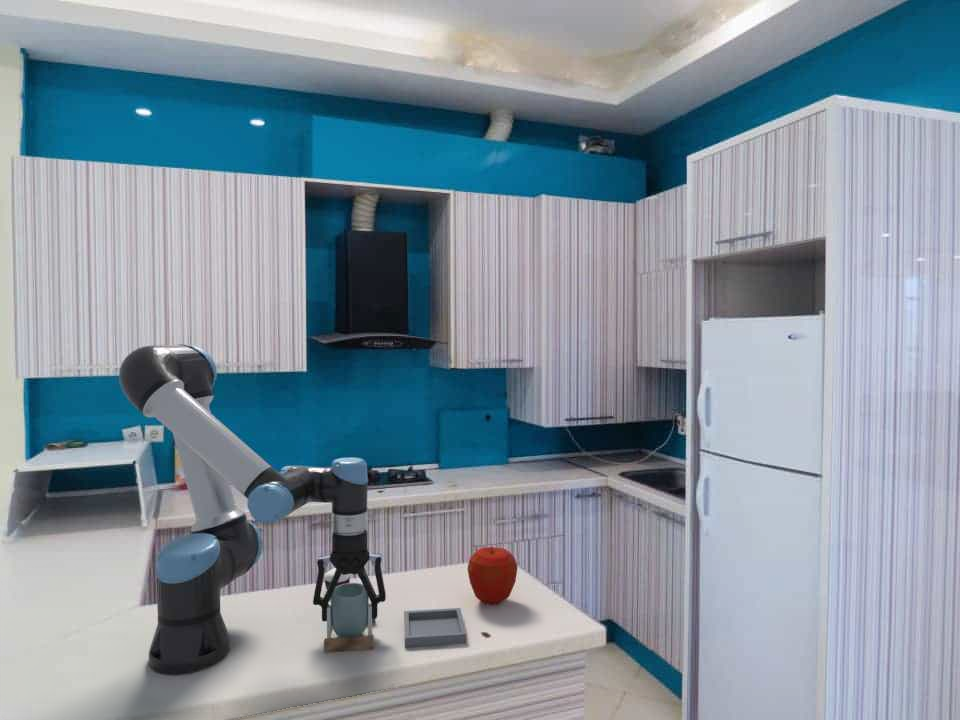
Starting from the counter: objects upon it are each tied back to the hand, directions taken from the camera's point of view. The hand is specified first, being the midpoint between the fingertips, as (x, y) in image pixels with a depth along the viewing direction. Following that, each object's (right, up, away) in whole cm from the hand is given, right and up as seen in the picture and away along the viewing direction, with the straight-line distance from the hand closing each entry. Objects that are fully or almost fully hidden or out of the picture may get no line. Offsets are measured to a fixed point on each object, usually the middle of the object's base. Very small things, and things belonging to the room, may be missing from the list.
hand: (349, 633), depth 137 cm
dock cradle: (+18, 0, +2) cm, 18 cm away
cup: (0, 0, 0) cm, 0 cm away
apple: (+31, 0, +17) cm, 36 cm away
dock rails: (0, -1, 0) cm, 1 cm away
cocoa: (-8, 0, +24) cm, 25 cm away
